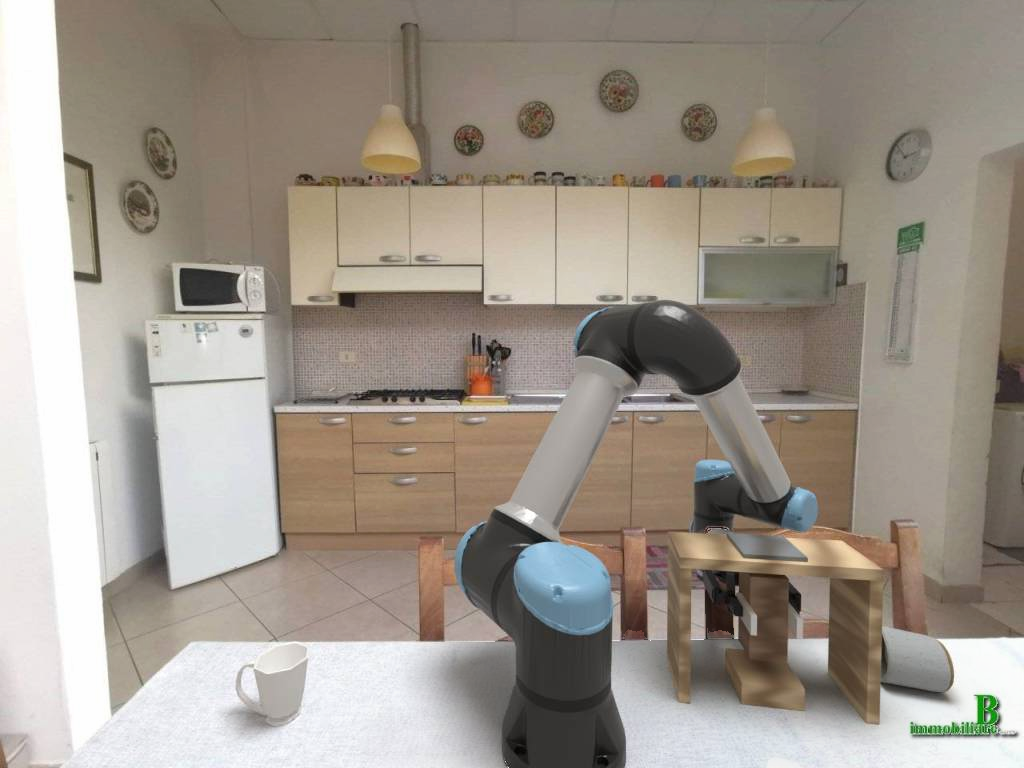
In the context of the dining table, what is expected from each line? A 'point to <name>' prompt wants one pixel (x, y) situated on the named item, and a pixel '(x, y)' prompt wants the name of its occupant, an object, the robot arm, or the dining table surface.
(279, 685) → the cup
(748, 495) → the robot arm
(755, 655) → the walnut block
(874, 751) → the dining table surface
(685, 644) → the wooden side table
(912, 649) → the ceramic mug
